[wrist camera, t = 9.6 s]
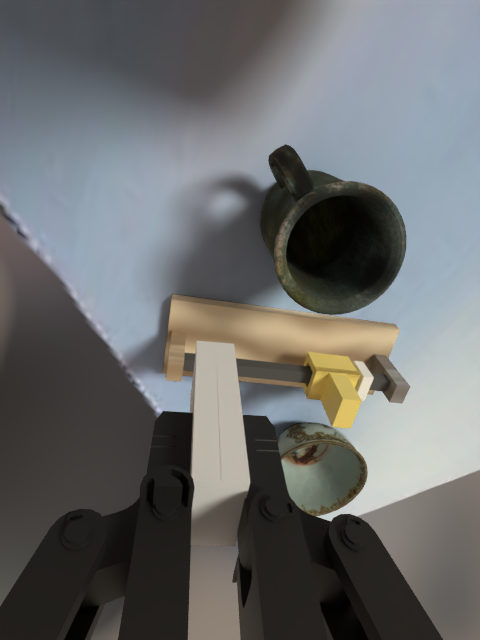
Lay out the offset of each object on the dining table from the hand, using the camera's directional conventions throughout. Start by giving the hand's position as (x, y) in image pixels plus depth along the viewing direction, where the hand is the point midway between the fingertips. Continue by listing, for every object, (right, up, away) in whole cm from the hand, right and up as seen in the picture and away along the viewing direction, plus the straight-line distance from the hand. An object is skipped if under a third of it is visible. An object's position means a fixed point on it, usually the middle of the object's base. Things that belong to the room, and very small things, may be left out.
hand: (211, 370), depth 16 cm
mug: (+7, +14, +25) cm, 30 cm away
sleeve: (+11, -4, +30) cm, 32 cm away
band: (+15, -4, +30) cm, 34 cm away
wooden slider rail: (+6, -1, +33) cm, 34 cm away
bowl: (+10, -15, +41) cm, 45 cm away
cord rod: (+7, -4, +28) cm, 29 cm away
